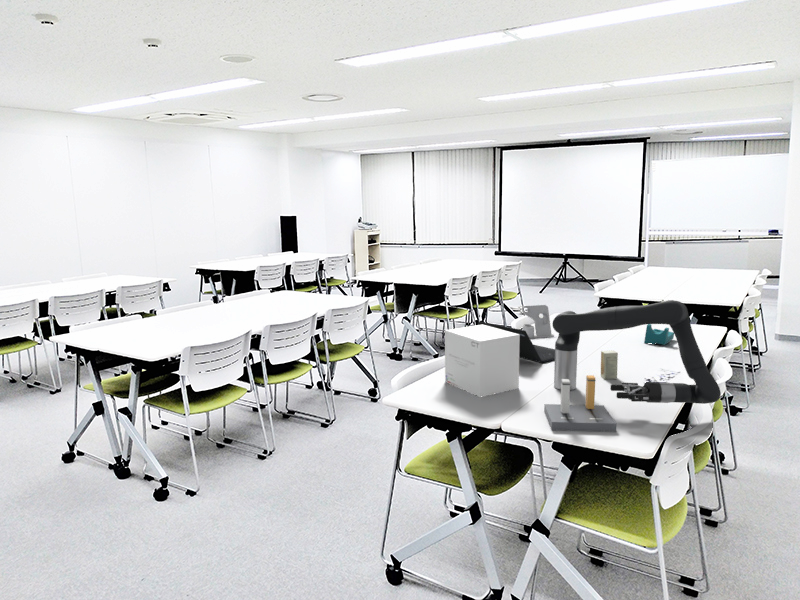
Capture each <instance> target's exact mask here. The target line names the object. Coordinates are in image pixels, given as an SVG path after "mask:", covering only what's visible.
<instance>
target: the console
mask: <svg viewBox="0 0 800 600" xmlns="http://www.w3.org/2000/svg"><path fill="white" fill-rule="evenodd" d="M585 405H586V404H569V413H562V412H561V403H560V404H559V403H558V404H555V403H551V404H550V403H545V404H544V406H543V407H544V411H543V413H544V414H545V417H546V420H547V423H548V426H549V427H551V428H550V430H551V431H574V432H575V431H577V432H607V433H608V432H610V433H611V432H613V433H616V432H617V423H616V421H615V419H614V418H613V417H612V415H611V414H610V411H608V409H607V408H606V407H605V405H603V404H602V405H601V404H600V405H599V404H598V405H597V404H594V409H587V408H586V406H585Z"/></svg>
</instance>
